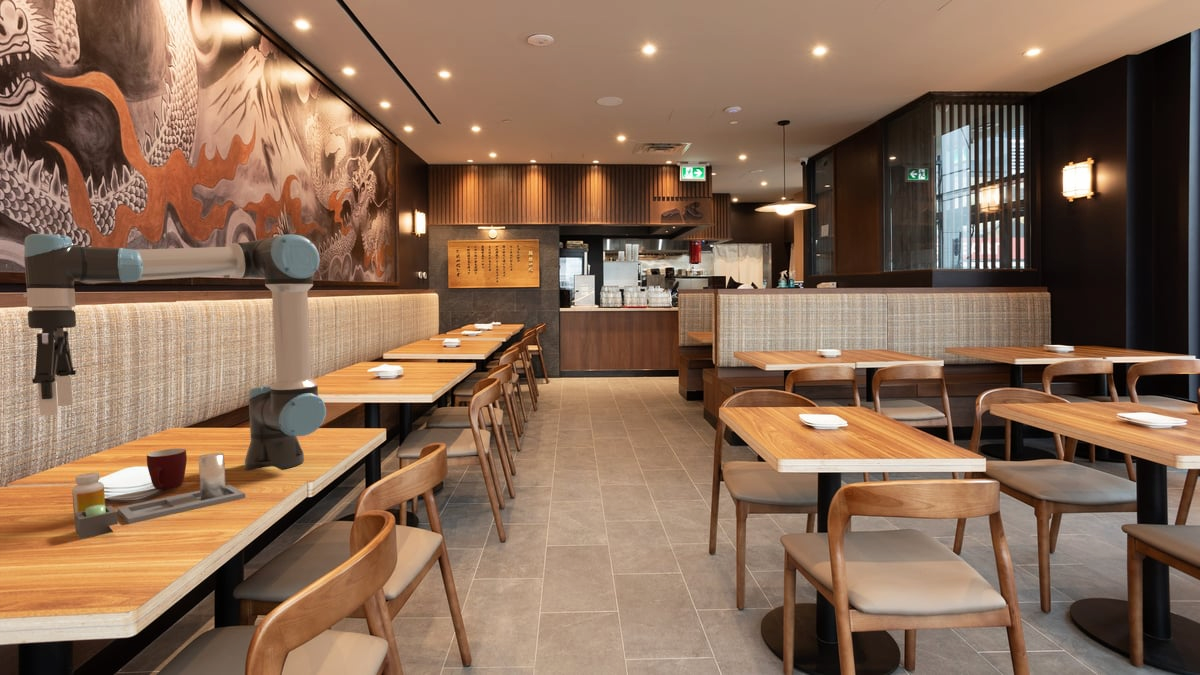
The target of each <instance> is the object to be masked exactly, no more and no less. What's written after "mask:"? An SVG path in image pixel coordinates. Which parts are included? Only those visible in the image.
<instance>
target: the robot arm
mask: <svg viewBox="0 0 1200 675" xmlns="http://www.w3.org/2000/svg"><path fill="white" fill-rule="evenodd" d="M23 254H24V255H23V259H24V271H25V283H26V284H25V285H26V292H24V293H23V294H22V296H23V298H25V299H26V300H27V307H28V309H29V308H31V310H28V312H27V322H28V323H27V324H28V325H27V326H28V328H30V329H41V330H42V331H41V333H37V334H36V343H37V344H36V346H37V347H36V356H35V357H36V358H35V370H34V377H33V378H32V382H31V383H32V384H37V390H38V407H39V416H40V417H42V416H54V415H55V416H56V415H59V407H64V406H67V407H68V406H74V401H73V399H74V398H73V397H74V396H73V382H72V376H75V375H76V374H77V371H76V369H74V367H73V360H72V354H71V347H70V343H69V332H68V331H67V330H64V329H68V328H69V329H70V328H76V326H77V316H76V311H75V310H74V309H73V308H75V307H76V294H75V293H76V292H75V282H81V283H83V284H86V285H96V284H97V285H98V284H104V283H107V284H108V283H121V284H122V283H123V284H124V283H136V282H139V281H149V280H153V281H154V280H169V279H185V278H186V279H188V278H199V277H201V278H202V277H203V278H204V277H219V276H234V277H235V278H237V279H247V278H248V279H249V278H252V279H264V283H265V284H264V286H265V287H266V288H267V289H268V290H270V291H271V297H272V298H271V299H272V302H271V303H272V317H273V336H274V337H273V339H274V359H275V361H274V362H275V382H274V383H273V384H271V385H268V386H258V387H252V388H250V390H249V391H248V399H247V401H248V413H249V429H250V430H249V431H250V442H249V446H248V449H247V452H246V455H245V459H244V469H245V470H247V471H251V470H257V469H262V468H267V467H275V468H277V469H278V470H285V469H289V468H293V467H296V466H299V465H301V464H303V463H304V461H305V454H304V450H303V448H302V446H301V444H300V441H299V439H298V437H305V436H308V435H311V434H313V433H315V432H316V431H317V430H318V429H319V428H320V427H321V426H322V425H323V423H324V421H325V419H326V415H327V408H326V404H325V402H324V400H323V399H322V398H321V397H320V396H319V388H318V383H317V382H316V381H315V380H314V379H313V378H312V369H311V368H312V367H311V347H310V346H311V345H310V344H311V343H310V323H309V322H310V321H309V300H308V296H309V295H308V292H309V290H311V288H313V286H314V274H315V273H316V271H317V270H318V269H319V266H320V261H321V260H320V254H319V250H318V249H317V247H316V245H315V244H314V243H313V242H312V241H311V240H309V238H307V237H305V236H303V235H299V234H291V233H289V234H288V233H287V234H280V235H277V236H272V237H271V236H270V237H265V238H261V239H257V240H251V241H245V242H233V243H231V244H230V245H229V246H214V247H213V246H211V247H209V246H208V247H185V248H184V247H180V248H179V247H178V248H177V247H176V248H150V249H149V248H148V249H147V248H145V249H131V248H123V247H104V246H103V247H101V246H100V247H98V246H81V245H74V243H73V239H72V238H71V237H70V236H68V235H63V234H51V233H32V234H28V235H27V236H25V237H24V253H23Z"/></svg>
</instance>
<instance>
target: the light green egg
mask: <svg viewBox="0 0 1200 675" xmlns="http://www.w3.org/2000/svg"><path fill="white" fill-rule="evenodd" d="M105 507H106V504H105V505H94V506H90V507H87V508H86V509H85V512H86V517H88V516H92V515H97V514H102V513H106V509H105Z"/></svg>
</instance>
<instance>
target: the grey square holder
mask: <svg viewBox="0 0 1200 675" xmlns="http://www.w3.org/2000/svg"><path fill="white" fill-rule="evenodd" d="M105 509H106V513H102V514H97V515H92V516H88V517H86V512H85V511H81V512H76V513H74V512H73V515H74V514H75V520H74V525H75V533H76V535H77V536H78V537H79V539H80V540H84V539H86V538H91V537H95V536H100V535H105V534H109V533H113V532H114V531H113V529H112V528H111V527H110V526H113V525H118V522H119V521H118V512H117V509H115V508H114V507H113V506H112V505H107V506H106V505H105Z"/></svg>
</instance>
